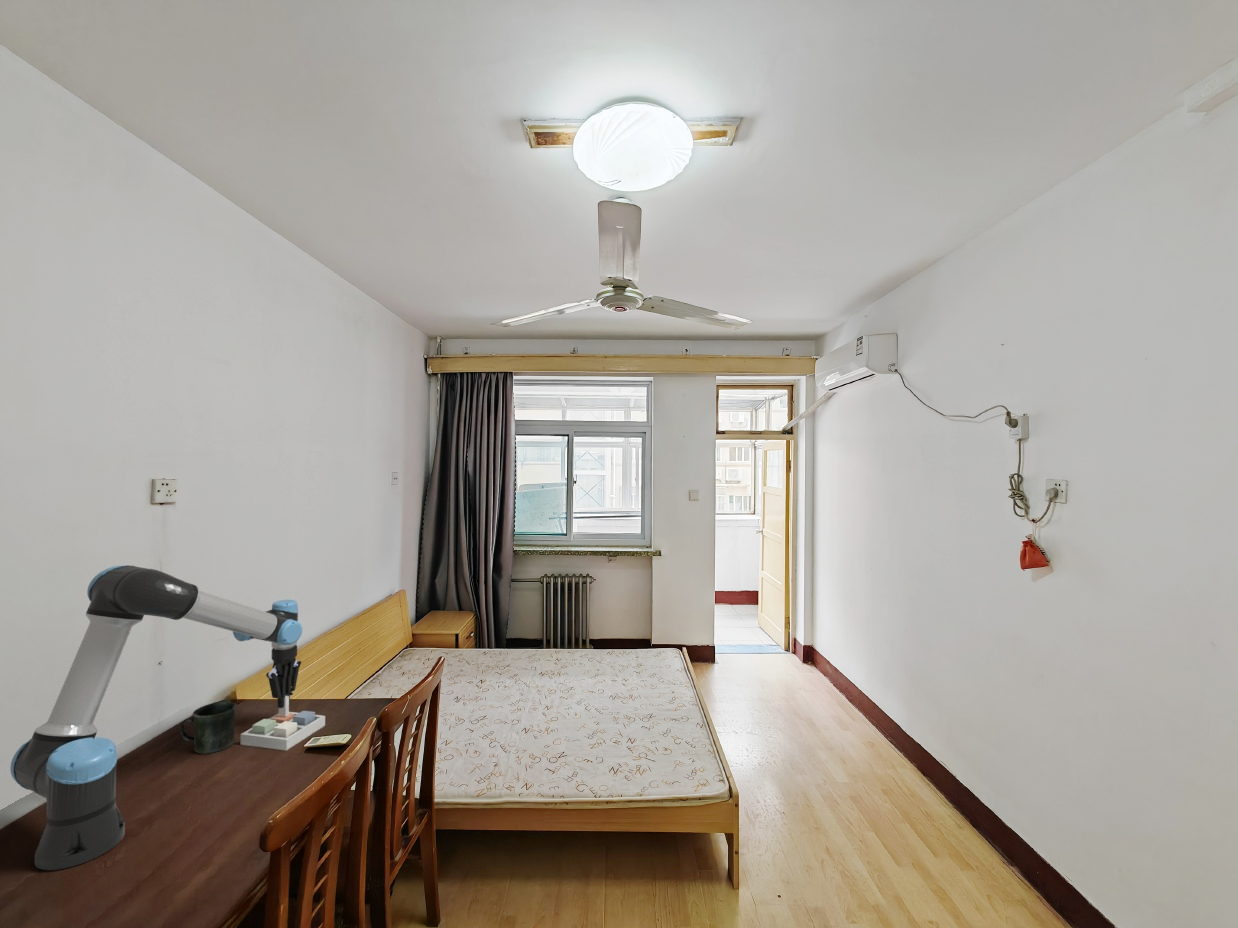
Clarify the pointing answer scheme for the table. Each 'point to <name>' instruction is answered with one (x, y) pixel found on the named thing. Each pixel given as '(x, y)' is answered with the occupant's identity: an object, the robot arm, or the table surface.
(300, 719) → the key slate
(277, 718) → the key terracotta
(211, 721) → the mug
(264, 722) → the key sage
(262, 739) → the frame
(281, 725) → the key ivory
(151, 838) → the table surface
